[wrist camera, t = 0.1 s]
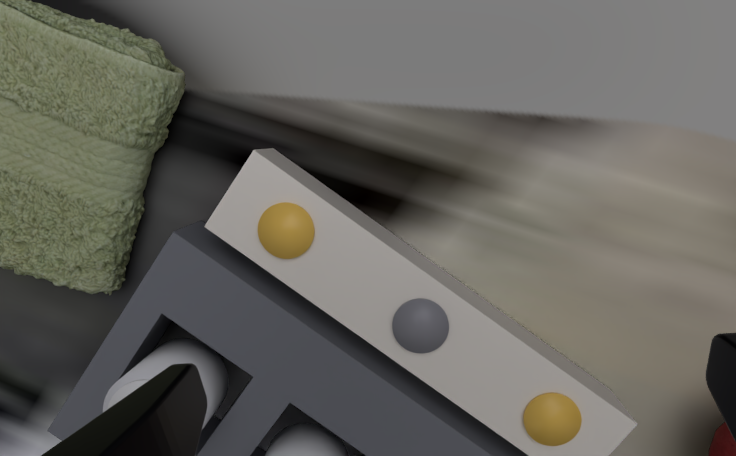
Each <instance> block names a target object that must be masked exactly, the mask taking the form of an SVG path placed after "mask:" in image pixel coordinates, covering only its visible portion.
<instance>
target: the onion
mask: <svg viewBox="0 0 736 456" xmlns="http://www.w3.org/2000/svg"><path fill="white" fill-rule="evenodd" d="M709 456H736V442H735V440H734V438H733V436H732V434H731V432H730V430H729V428H728V426H727V424H726V422H724V423H723V424H722V425H721V426H720V427H719V428H718V429H717V430H716V432H715V435H714V438H713V440H712V443H711V446H710V448H709Z"/></svg>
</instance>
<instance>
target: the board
mask: <svg viewBox="0 0 736 456" xmlns="http://www.w3.org/2000/svg"><path fill="white" fill-rule="evenodd" d="M205 225H206V223H204V222H203V221H202V220H201V221H199V222H196V223H194V224H191V225H189V226H186V227H184V228H181V229H179V230H176V231H174V232H173V233H172V234H171V236H170V238H169V239H168V241H167V242H166V244H165V245H164V247H163V249H162V250H161V252H160V253H159V255H158V257H157V258H156V260H155V261H154V263H153V264H152V266H151V268H150V269H149V271H148V272H147V274H146V275H145V277H144V279H143V280H142V282H141V283H140V285H139V287H138V288H137V290H136V291H135V293H134V294H133V296H132V298H131V299H130V301H129V302H128V304H127V306H126V307H125V309H124V310H123V312H122V313H121V315H120V317H119V318H118V320H117V321H116V323H115V325H114V326H113V328H112V329H111V331H110V332H109V334H108V336H107V337H106V339H105V340H104V342H103V344H102V345H101V347H100V348H99V350H98V351H97V353H96V355H95V356H94V358H93V359H92V361H91V362H90V364H89V366H88V367H87V369H86V370H85V372H84V374H83V375H82V377H81V378H80V380H79V381H78V383H77V385H76V386H75V388H74V389H73V391H72V393H71V394H70V396H69V397H68V399H67V400H66V402H65V404H64V405H63V407H62V408H61V410H60V412H59V413H58V415H57V416H56V418H55V419H54V421H53V423H52V424H51V426H50V427H49V429H48V430H47V431H49V432H50V433H51V434H53V435H54V436H56V437H57V438H59V439H60V440H62V441H63V440H64V439H66V438H67V437H69V436H70V435H72V434H73V433H74V432H76V431H77V430H79V429H80V428H82V427H83V426H84V425H86V424H87V423H89V422H90V421H92V420H93V419H95V418H96V417H97V416H99V415H100V414H102V413H103V404H104V400H105V397H106V395H107V393H108V391H109V389H110V388H111V387H112V385H114V384H115V383H116V382H117V381H118V380H119V379H120V378H121V377H123V376H124V375H125V374H126V373H128V372H129V371H130V370H131V369H132V368H134V367H135V366H136V365H137V364H138V363H140V362H141V361H142V360H143V359H144V358H146V357H147V356H148V355H149V354H151V352H152V350H153V349H154V347H155V346H156V344H157V343H158V341H159V340H160V338H161V337H162V335H163V334H164V332H165V331H166V329H167V328H168V326H169V325H170V323H171V322H172V321H174V322H175V323H176V324H178V325H179V326H181V327H182V328H184V329H185V330H186V331H188V332H189V333H191V334H192V335H194V336H195V337H197V338H198V339H199V340H201V341H202V342H204V343H205V344H207V345H208V346H209V347H211V348H212V349H214V350H215V351H217V352H218V353H219V354H221V355H222V356H224V357H225V358H227V359H228V360H230V361H231V362H232V363H234V364H235V365H237V366H238V367H240V368H241V369H242V370H244V371H245V372H247V373H248V374H250V375H251V376H252V378H251V379H250V381H249V382H248V383H247V385H246V386H245V387H244V389H243V390H242V392H241V393H240V394H239V396H238V397H237V399H236V400H235V401H234V403H233V404H232V406H231V407H230V408H229V410H228V411H227V412H226V414H225V415H224V417H223V418H222V419H221V421H220V420H218V419H217V418H216V417H214V416H213V415H212V417H211V418H210V420H209V421H208V422H207V424H206V425H205V427H204V428H203V429H202V431H201V435H200V439H199V443H198V446H197V450H196V454H195V456H265V454H266V452H265V451H263V450H262V449H260V448H259V447H258V444H259V443H260V442H261V440H262V439H263V438H264V436H265V435H266V434H267V432H268V431H269V430H270V428H271V427H272V426H273V424H274V423H275V422H276V420H277V419H278V418H279V416H280V415H281V414H282V412H283V411H284V410H285V408H286V407H287V406H288V404H289V403H291V404H293V405H294V406H296V407H297V408H298V409H300V410H301V411H303V412H304V413H306V414H307V415H309V416H310V417H311V418H313V419H314V420H316V421H317V422H319V423H320V424H321V425H323V426H324V427H326V428H327V429H329V430H330V431H331V432H333V433H334V434H336V435H337V436H339V437H340V438H342V439H343V440H344V441H346V442H347V443H349V444H350V445H352V446H353V447H354V448H356V449H357V450H359V451H360V452H362V453H363V454H362V455H361V456H529V455H527V454H526V453H524V452H523V451H521V450H520V449H519V448H517V447H516V446H514V445H513V444H512V443H510V442H509V441H507V440H506V439H504V438H503V437H502V436H500V435H499V434H497V433H496V432H495V431H493V430H492V429H490V428H489V427H487V426H486V425H485V424H483V423H482V422H480V421H479V420H478V419H476V418H475V417H473V416H472V415H470V414H469V413H468V412H466V411H465V410H463V409H462V408H461V407H459V406H458V405H456V404H455V403H453V402H452V401H451V400H449V399H448V398H446V397H445V396H443V395H442V394H441V393H439V392H438V391H436V390H435V389H434V388H432V387H431V386H429V385H428V384H426V383H425V382H424V381H422V380H421V379H419V378H418V377H417V376H415V375H414V374H412V373H411V372H409V371H408V370H407V369H405V368H404V367H402V366H401V365H400V364H398V363H397V362H395V361H394V360H392V359H391V358H390V357H388V356H387V355H385V354H384V353H383V352H381V351H380V350H378V349H377V348H375V347H374V346H373V345H371V344H370V343H368V342H367V341H366V340H364V339H363V338H361V337H360V336H358V335H357V334H356V333H354V332H353V331H351V330H350V329H349V328H347V327H346V326H344V325H343V324H341V323H340V322H339V321H337V320H336V319H334V318H333V317H332V316H330V315H329V314H327V313H326V312H324V311H323V310H322V309H320V308H319V307H317V306H316V305H314V304H313V303H312V302H310V301H309V300H307V299H306V298H305V297H303V296H302V295H300V294H299V293H297V292H296V291H295V290H293V289H292V288H290V287H289V286H288V285H286V284H285V283H283V282H282V281H280V280H279V279H278V278H276V277H275V276H273V275H272V274H271V273H269V272H268V271H266V270H265V269H263V268H262V267H261V266H259V265H258V264H256V263H255V262H254V261H252V260H251V259H249V258H248V257H246V256H245V255H244V254H242V253H241V252H239V251H238V250H237V249H235V248H234V247H232V246H231V245H229V244H228V243H227V242H225V241H224V240H222V239H221V238H220V237H218V236H217V235H215V234H214V233H212V232H211V231H210V230H208V229H207V228H205V227H204V226H205Z"/></svg>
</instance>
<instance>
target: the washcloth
mask: <svg viewBox="0 0 736 456" xmlns="http://www.w3.org/2000/svg"><path fill="white" fill-rule="evenodd" d="M184 81H185V74H184V72H183V71H182V70H181V69H179V68H177V67H176V66H174V65H172V64H171V63H170V60H168V59H166V58H165V56H164V51H163V49H162V47H161V46H160V44H159V43H158V42H157V41H155V40H153V39H151V38H150V39H143V38H142V37H141V36H140V37H137V36H136V35H135V34H133V33H131V32H130V31H129V29H122V30H120V29H119V28H117V27H113V26H112V25H106V24H104V23H96V22H95V21H94V19H91V20H85V19H80V18H76V17H74V16H71V15H69V14H66V13H62V12H61V11H59V10H56V9H53V8H51V7H49V6H46V5H42V4H40V3H33V2H32V1H27V0H0V267H2V268H3V269H14V272H15V274H19V275H32V276H34V277H35V278H37V279H41V278H44V279H46V280H48V281H51V282H53V284H54V285H55V286H67V287H69V289H76V290H81V291H84V292H86V293H90V294H98V292H104V293H106V294H107V293H109V295H111V294H112V291H116V290H119V289H120V288H121V287H122V282H123V281H125V271H126V265H127V264H128V263H129V260H130V252H131V251H132V245H133V241H134V239H135V238H136V237H135V235H134V234H135V233H136V232H137V231H136V229H137V227H138V224H139V221H140V218H141V216H142V214H143V213H144V210H145V209H144V207H143V206H144V204H145V202H144V197H143V196H142V195H143V191H144V189H145V187H146V184H147V178H148V176H149V174H150V171H151V163H152V160H153V158H154V154H155V152H156V151H157V150H158V148H160V147H162V146H163V144H164V142H165V139H166V138H168V133H169V131H168V129H167V125H168V124H169V123H170V122H171V119H172V117H173V113H174V112H175V111H176V110H177V107H178V104H179V100H180V99H181V97H182V95H183V93H184V88H185V85H186V84H185V82H184Z"/></svg>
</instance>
